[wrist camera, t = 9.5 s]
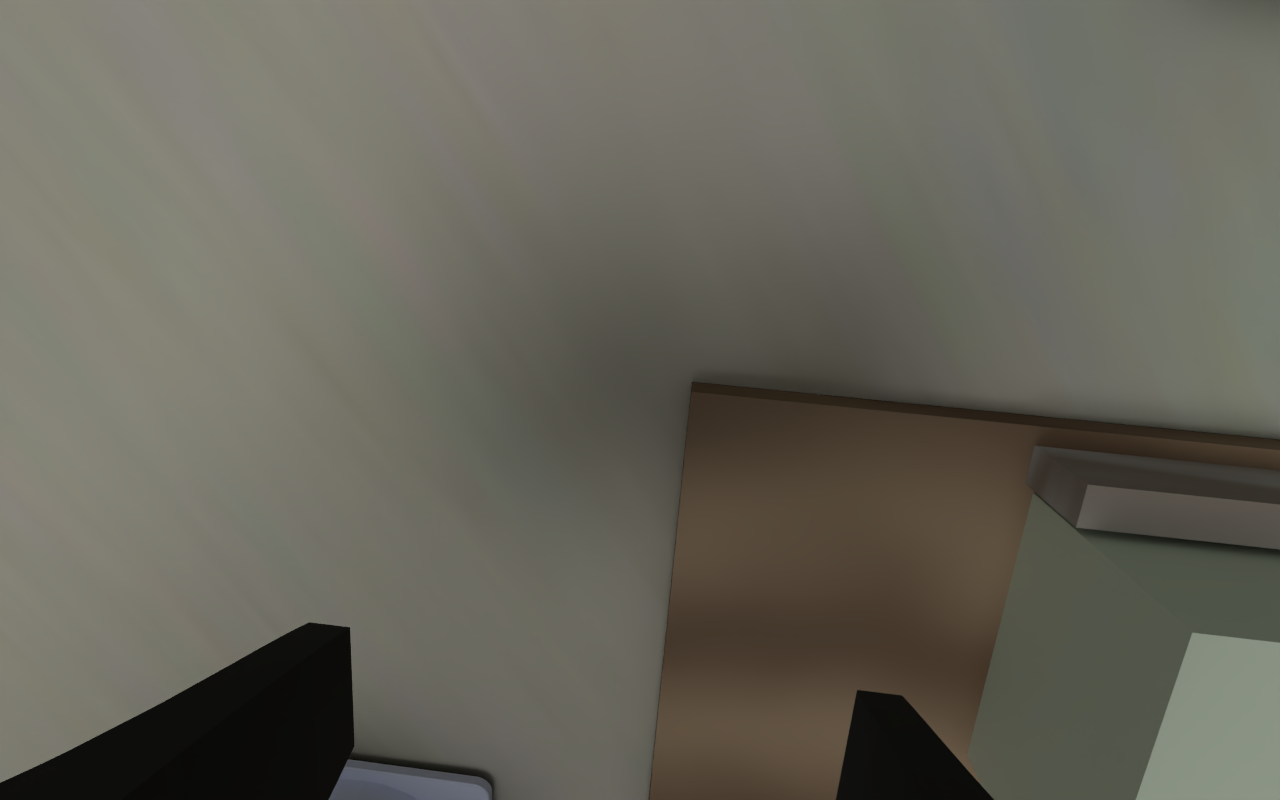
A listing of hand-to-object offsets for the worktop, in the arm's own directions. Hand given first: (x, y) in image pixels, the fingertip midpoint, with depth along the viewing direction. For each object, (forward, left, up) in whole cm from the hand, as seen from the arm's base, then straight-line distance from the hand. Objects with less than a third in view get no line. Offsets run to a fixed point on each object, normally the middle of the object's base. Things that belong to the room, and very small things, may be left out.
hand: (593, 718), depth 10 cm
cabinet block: (-3, -13, -9) cm, 16 cm away
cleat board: (-5, -9, -10) cm, 14 cm away
